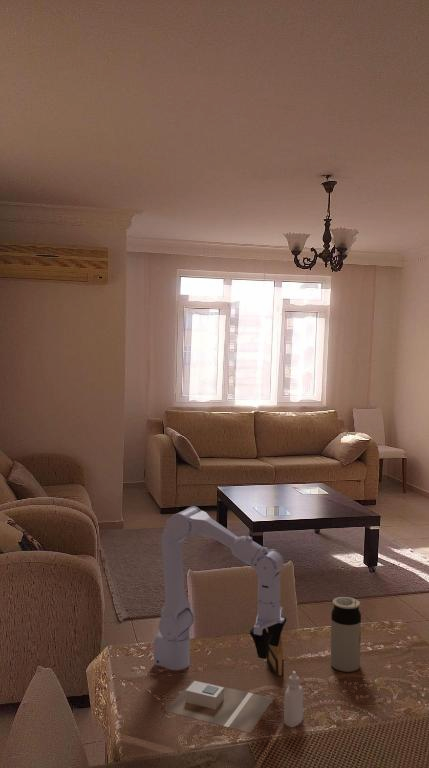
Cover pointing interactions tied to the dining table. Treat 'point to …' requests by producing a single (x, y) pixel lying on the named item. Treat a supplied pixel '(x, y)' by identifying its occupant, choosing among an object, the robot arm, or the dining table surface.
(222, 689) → the block
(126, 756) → the dining table surface
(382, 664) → the dining table surface
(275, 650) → the ammunition clip
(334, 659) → the travel mug
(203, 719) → the subfloor panel
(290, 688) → the eye dropper bottle
